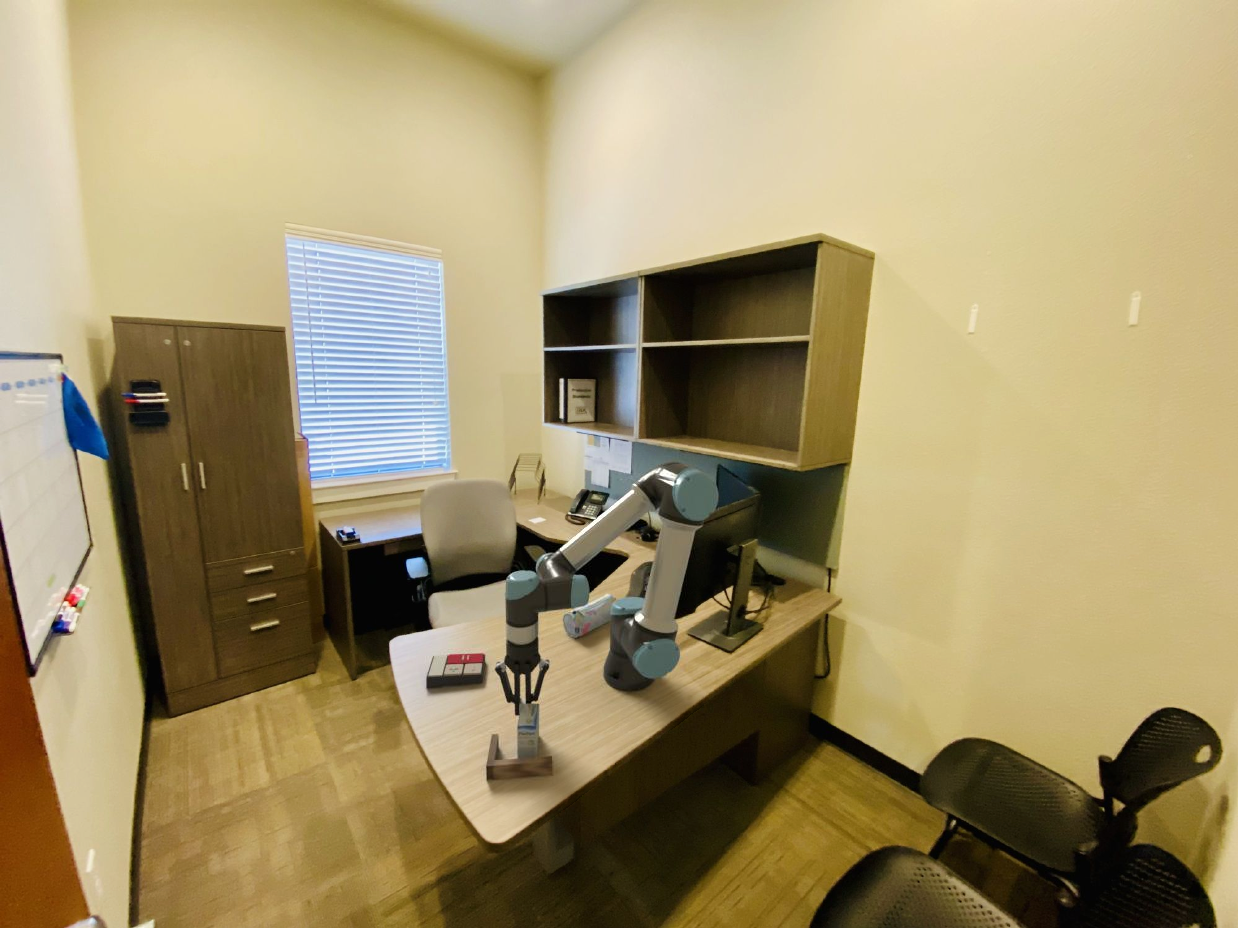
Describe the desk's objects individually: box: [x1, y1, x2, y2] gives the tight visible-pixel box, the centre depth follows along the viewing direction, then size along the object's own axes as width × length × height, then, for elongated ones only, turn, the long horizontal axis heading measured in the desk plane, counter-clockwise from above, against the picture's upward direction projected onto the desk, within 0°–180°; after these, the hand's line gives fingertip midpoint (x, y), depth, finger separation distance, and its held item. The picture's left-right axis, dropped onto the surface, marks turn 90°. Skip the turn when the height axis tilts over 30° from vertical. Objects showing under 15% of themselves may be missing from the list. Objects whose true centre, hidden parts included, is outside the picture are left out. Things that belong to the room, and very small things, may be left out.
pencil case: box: [562, 593, 617, 639], centre depth 170 cm, size 21×9×10 cm, turn 136°
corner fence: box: [485, 733, 553, 781], centre depth 111 cm, size 14×10×4 cm
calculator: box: [425, 652, 486, 689], centre depth 142 cm, size 11×4×15 cm
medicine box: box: [516, 703, 540, 759], centre depth 114 cm, size 8×4×9 cm, turn 5°
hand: (523, 725), depth 120 cm, fingers closed
